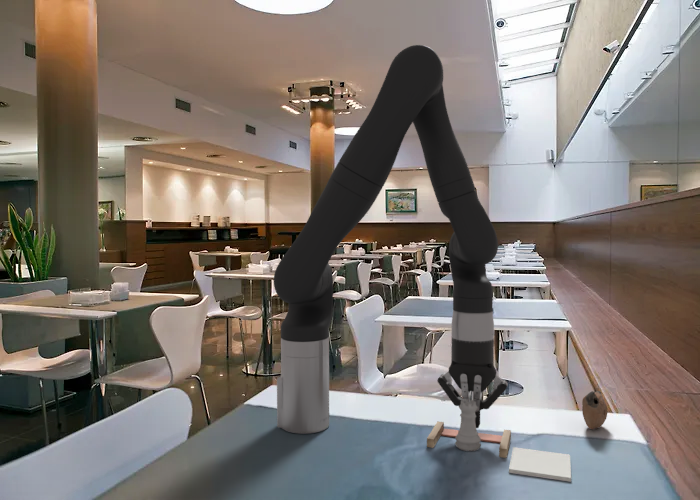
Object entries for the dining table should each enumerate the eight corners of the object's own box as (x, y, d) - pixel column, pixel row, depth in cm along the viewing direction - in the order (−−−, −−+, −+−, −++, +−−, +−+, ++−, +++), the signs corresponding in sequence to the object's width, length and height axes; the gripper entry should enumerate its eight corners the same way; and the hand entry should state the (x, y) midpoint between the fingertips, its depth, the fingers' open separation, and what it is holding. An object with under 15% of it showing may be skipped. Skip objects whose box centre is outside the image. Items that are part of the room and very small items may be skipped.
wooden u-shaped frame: (426, 446, 96) (426, 438, 95) (437, 429, 104) (437, 421, 104) (506, 458, 91) (506, 449, 91) (510, 438, 99) (511, 430, 99)
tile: (508, 472, 85) (508, 468, 85) (513, 450, 94) (513, 447, 94) (571, 481, 82) (571, 477, 82) (569, 458, 91) (569, 454, 91)
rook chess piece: (481, 453, 93) (481, 406, 93) (454, 451, 94) (454, 404, 93) (480, 443, 97) (481, 398, 97) (455, 441, 98) (455, 397, 98)
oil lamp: (601, 439, 99) (602, 395, 98) (577, 435, 101) (578, 392, 100) (608, 424, 106) (609, 383, 106) (586, 420, 108) (587, 380, 108)
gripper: (432, 336, 98) (431, 432, 99) (508, 342, 94) (507, 441, 94) (440, 329, 105) (439, 418, 106) (511, 334, 101) (510, 427, 101)
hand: (471, 429), depth 100 cm, fingers closed
